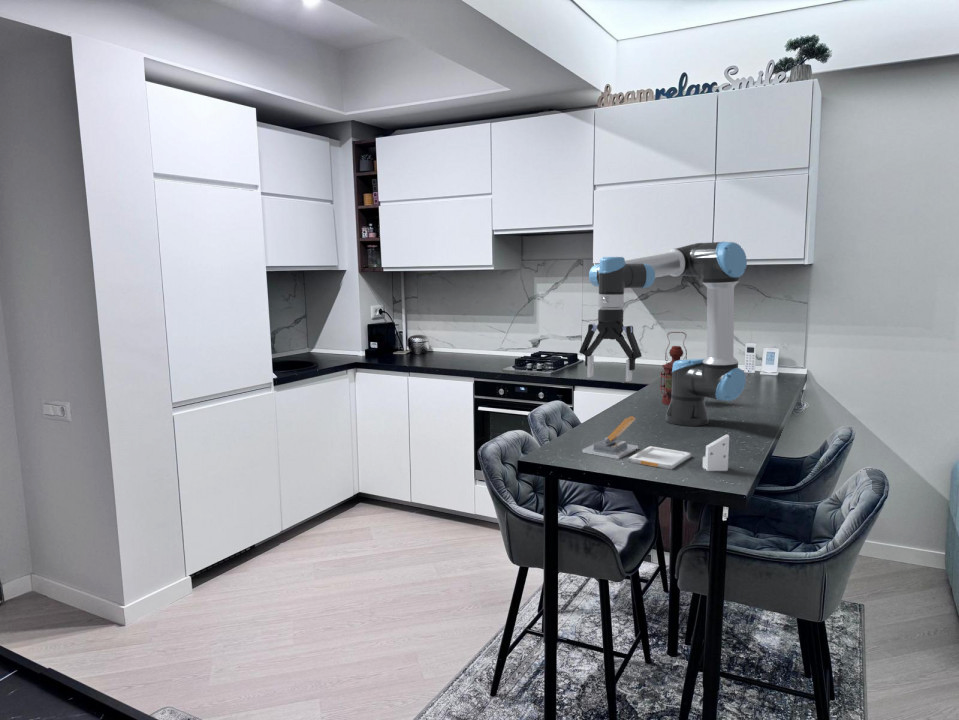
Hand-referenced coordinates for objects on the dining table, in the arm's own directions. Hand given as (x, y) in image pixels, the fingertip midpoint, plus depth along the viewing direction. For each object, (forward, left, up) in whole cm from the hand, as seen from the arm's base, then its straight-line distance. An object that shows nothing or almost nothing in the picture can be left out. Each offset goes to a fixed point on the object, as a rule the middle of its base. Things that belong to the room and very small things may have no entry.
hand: (609, 378), depth 204 cm
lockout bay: (0, +17, -22) cm, 28 cm away
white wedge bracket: (0, +33, -23) cm, 40 cm away
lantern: (-83, -10, -23) cm, 87 cm away
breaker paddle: (0, +1, -19) cm, 19 cm away
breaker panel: (0, +1, -22) cm, 22 cm away
